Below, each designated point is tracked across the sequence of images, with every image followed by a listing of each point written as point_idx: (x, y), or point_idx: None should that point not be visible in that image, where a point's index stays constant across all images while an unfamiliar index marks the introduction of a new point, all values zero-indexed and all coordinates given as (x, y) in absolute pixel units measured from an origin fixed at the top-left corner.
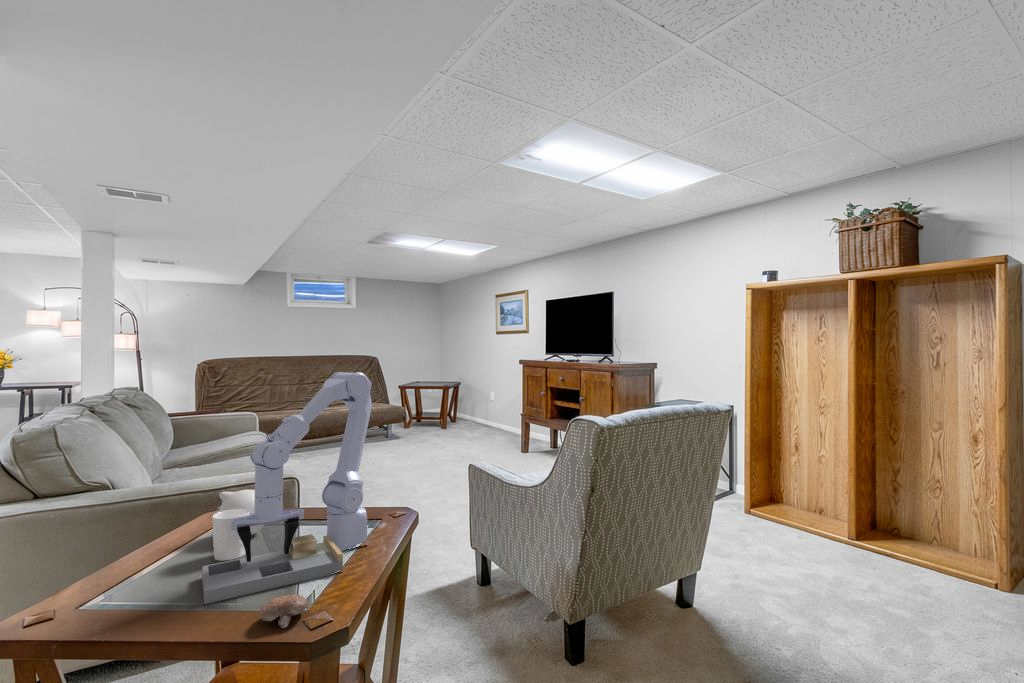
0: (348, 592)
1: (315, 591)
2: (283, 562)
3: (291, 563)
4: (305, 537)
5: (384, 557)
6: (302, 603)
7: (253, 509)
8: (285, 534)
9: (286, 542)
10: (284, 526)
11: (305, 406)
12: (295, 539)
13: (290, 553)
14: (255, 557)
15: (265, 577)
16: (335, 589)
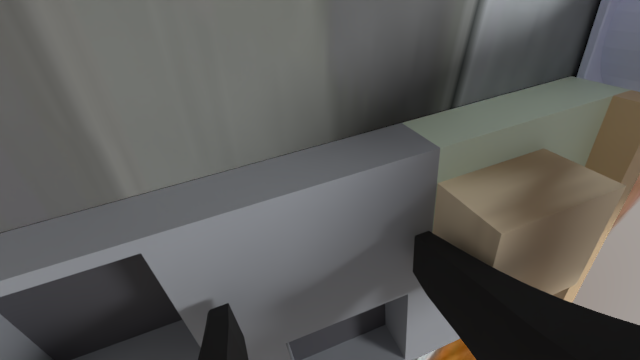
0: (470, 357)
1: (418, 357)
2: (386, 300)
3: (411, 313)
4: (570, 237)
5: (633, 198)
6: None
7: None
8: (500, 336)
9: (460, 331)
10: (565, 352)
11: None
12: (517, 261)
13: (435, 220)
14: (251, 235)
15: None
16: (456, 348)
